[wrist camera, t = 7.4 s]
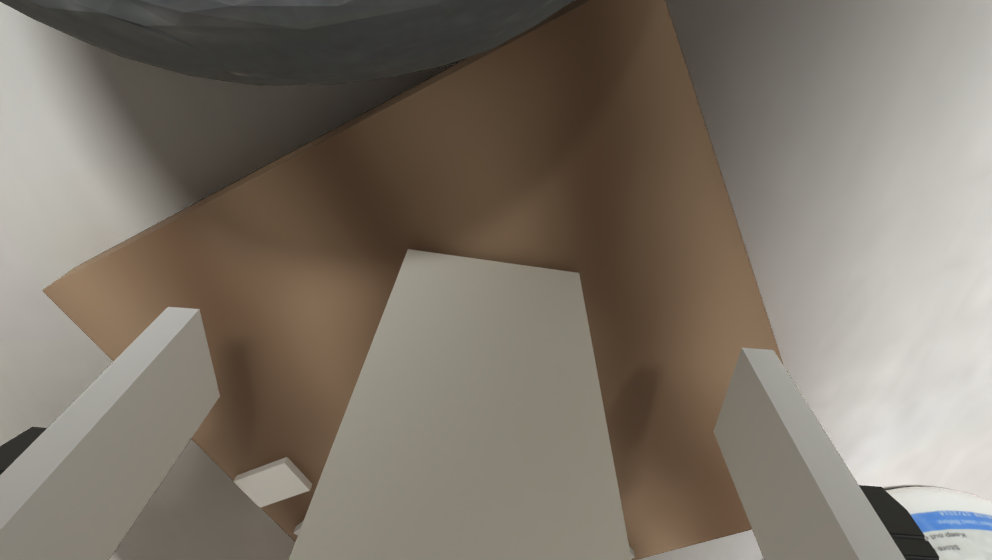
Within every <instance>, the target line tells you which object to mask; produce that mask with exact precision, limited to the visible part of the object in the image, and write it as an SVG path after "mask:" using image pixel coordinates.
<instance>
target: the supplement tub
mask: <svg viewBox="0 0 992 560" xmlns="http://www.w3.org/2000/svg"><path fill="white" fill-rule="evenodd" d="M885 491H886V492H887V493H889V494H890V495H891V496H892V497H893V498H894V499H895V500H896V501H898V502H899V503H900V504H901V505H902V506H903V507H904V508H905V509H907V511H908V512H909V514H910V515H911V516H912V518H913V519H914V521H915V522H916V524H917V525H918V527H919V528H920V530H921V531H922V532H923V534H924V535H925V536H924V538H925V540H926V541H929V543H930V544H931V545H932V547H933V548H934V550H935V551H936V553H937V554H938V556H939V560H992V502H991V501H989V500H987V499H984V498H982V497H979V496H976V495H973V494H970V493H966V492H962V491H957V490H951V489H946V488H938V487H904V488H896V489H891V490H885Z"/></svg>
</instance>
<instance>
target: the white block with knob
mask: <svg viewBox="0 0 992 560" xmlns="http://www.w3.org/2000/svg"><path fill="white" fill-rule="evenodd" d="M289 560H632V559H631V554H630V548H629V543H628V538H627V532H626V527H625V521H624V516H623V510H622V505H621V499H620V494H619V488H618V483H617V477H616V472H615V466H614V461H613V455H612V450H611V445H610V439H609V434H608V428H607V423H606V417H605V412H604V406H603V401H602V395H601V390H600V384H599V379H598V373H597V368H596V363H595V357H594V352H593V346H592V341H591V335H590V330H589V324H588V319H587V313H586V308H585V302H584V297H583V291H582V286H581V280H580V275H579V273H576V272H569V271H562V270H555V269H547V268H540V267H533V266H526V265H519V264H512V263H504V262H497V261H490V260H483V259H476V258H468V257H461V256H454V255H447V254H440V253H433V252H425V251H418V250H411V249H408V250H407V253H406V255H405V258H404V260H403V263H402V266H401V268H400V271H399V273H398V276H397V279H396V281H395V284H394V287H393V289H392V292H391V294H390V297H389V300H388V302H387V305H386V307H385V310H384V313H383V315H382V318H381V320H380V323H379V326H378V328H377V331H376V333H375V336H374V339H373V341H372V344H371V346H370V349H369V352H368V354H367V357H366V359H365V362H364V365H363V367H362V370H361V372H360V375H359V378H358V380H357V383H356V386H355V388H354V391H353V393H352V396H351V399H350V401H349V404H348V406H347V409H346V412H345V414H344V417H343V419H342V422H341V425H340V427H339V430H338V432H337V435H336V438H335V440H334V443H333V445H332V448H331V451H330V453H329V456H328V458H327V461H326V464H325V466H324V469H323V471H322V474H321V477H320V479H319V482H318V485H317V487H316V490H315V492H314V495H313V498H312V500H311V503H310V505H309V508H308V511H307V513H306V516H305V518H304V521H303V524H302V526H301V529H300V531H299V534H298V537H297V539H296V542H295V544H294V547H293V550H292V552H291V555H290V557H289Z"/></svg>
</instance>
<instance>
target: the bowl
mask: <svg viewBox="0 0 992 560" xmlns="http://www.w3.org/2000/svg"><path fill="white" fill-rule="evenodd" d="M572 1H574V0H0V2H2V3H4V4H6V5H8V6H10V7H12V8H14V9H15V10H17V11H19V12H21V13H23V14H25V15H27V16H29V17H31V18H33V19H35V20H37V21H39V22H41V23H44V24H46V25H48V26H50V27H53V28H55V29H57V30H59V31H62V32H64V33H66V34H68V35H71V36H73V37H75V38H77V39H80V40H82V41H84V42H87V43H89V44H92V45H94V46H97V47H99V48H102V49H104V50H107V51H109V52H112V53H114V54H117V55H119V56H122V57H125V58H129V59H132V60H136V61H139V62H143V63H147V64H150V65H154V66H157V67H161V68H164V69H168V70H172V71H175V72H179V73H182V74H186V75H190V76H196V77H202V78H209V79H216V80H223V81H230V82H237V83H244V84H252V85H260V86H262V85H325V84H337V83H345V82H354V81H363V80H371V79H380V78H389V77H394V76H399V75H403V74H408V73H413V72H418V71H422V70H427V69H432V68H437V67H441V66H444V65H447V64H450V63H453V62H456V61H459V60H462V59H465V58H468V57H471V56H474V55H477V54H480V53H483V52H486V51H489V50H491V49H493V48H495V47H497V46H499V45H500V44H502V43H504V42H506V41H508V40H510V39H512V38H513V37H515V36H517V35H519V34H521V33H523V32H524V31H526V30H528V29H530V28H532V27H534V26H536V25H537V24H539V23H540V22H542V21H543V20H545V19H546V18H548V17H550V16H551V15H553V14H554V13H556V12H557V11H559V10H560V9H562V8H563V7H565V6H566V5H568V4H569V3H571V2H572Z"/></svg>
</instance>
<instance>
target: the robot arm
mask: <svg viewBox="0 0 992 560" xmlns="http://www.w3.org/2000/svg"><path fill="white" fill-rule="evenodd" d="M219 397H220V394H219V390H218V386H217V381H216V377H215V373H214V369H213V364H212V360H211V356H210V352H209V347H208V343H207V339H206V335H205V331H204V326H203V322H202V318H201V314H200V309H192V308H178V307H167V308H166V309H165V310H164V311H163V312H162V313H161V314H160V315H159V316H158V317H157V318H156V319H155V320H154V321H153V322H152V323H151V324H150V325H149V326H148V327H147V328H146V329H145V330H144V331H143V332H142V333H141V334H140V335H139V336H138V337H137V338H136V339H135V340H134V341H133V342H132V343H131V344H130V345H129V346H128V347H127V348H126V349H125V350H124V351H123V352H122V353H121V354H120V355H119V356H118V357H117V358H116V359H115V360H114V361H113V362H112V363H111V364H110V366H109V367H108V368H107V369H106V370H105V371H104V372H103V373H102V374H101V375H100V376H99V377H98V378H97V379H96V380H95V381H94V382H93V383H92V384H91V385H90V386H89V387H88V388H87V389H86V390H85V391H84V392H83V393H82V394H81V395H80V396H79V397H78V398H77V399H76V400H75V401H74V402H73V403H72V404H71V405H70V406H69V407H68V408H67V409H66V410H65V411H64V412H63V413H62V414H61V415H60V416H59V417H58V418H57V419H56V420H55V421H54V422H53V423H52V424H51V425H50V426H49V427H48V428H39V427H32V428H30V429H28V430H27V431H25V432H23V433H22V434H20V435H18V436H17V437H15V438H13V439H12V440H10V441H8V442H7V443H5V444H3V445H2V446H1V447H0V560H109V559H110V558H111V556H112V555H113V553H114V552H115V550H116V549H117V547H118V546H119V544H120V543H121V541H122V540H123V538H124V537H125V535H126V534H127V532H128V531H129V530H130V528H131V527H132V525H133V524H134V522H135V521H136V519H137V518H138V516H139V515H140V513H141V512H142V510H143V509H144V507H145V506H146V504H147V503H148V502H149V500H150V499H151V497H152V496H153V494H154V493H155V491H156V490H157V488H158V487H159V485H160V484H161V482H162V481H163V479H164V478H165V476H166V475H167V474H168V472H169V471H170V469H171V468H172V466H173V465H174V463H175V462H176V460H177V459H178V457H179V456H180V454H181V453H182V451H183V450H184V448H185V447H186V446H187V444H188V443H189V441H190V440H191V438H192V437H193V435H194V434H195V432H196V431H197V429H198V428H199V426H200V425H201V423H202V422H203V420H204V419H205V418H206V416H207V415H208V413H209V412H210V410H211V409H212V407H213V406H214V404H215V403H216V401H217V400H218V398H219ZM713 432H714V434H715V437H716V439H717V442H718V444H719V447H720V449H721V452H722V454H723V457H724V460H725V462H726V465H727V467H728V470H729V472H730V475H731V477H732V480H733V482H734V485H735V487H736V490H737V492H738V495H739V497H740V500H741V502H742V505H743V507H744V510H745V512H746V515H747V517H748V520H749V522H750V525H751V527H752V530H753V532H754V535H755V537H756V540H757V542H758V545H759V547H760V550H761V553H762V555H763V558H764V560H939V556H938V554H937V553H936V551H935V550H934V548H933V547H932V545H931V544H930V543H929V541H926V540H925V538H924V536H925V535H924V534H923V532H922V531H921V530H920V528H919V527H918V525H917V524H916V522H915V521H914V519H913V518H912V516H911V515H910V514H909V512H908V511H907V509H905V508H904V507H903V506H902V505H901V504H900V503H899V502H898V501H896V500H895V499H894V498H893V497H892V496H891V495H890V494H889V493H887V492H886V491H885V490H884V489H883V488H882V487H875V486H861V485H858V483H857V482H856V480H855V478H854V477H853V475H852V474H851V472H850V471H849V469H848V467H847V466H846V464H845V463H844V461H843V459H842V458H841V456H840V455H839V453H838V451H837V450H836V448H835V447H834V445H833V444H832V442H831V440H830V439H829V437H828V436H827V434H826V432H825V431H824V429H823V428H822V426H821V424H820V423H819V421H818V420H817V418H816V417H815V415H814V413H813V412H812V410H811V409H810V407H809V405H808V404H807V402H806V401H805V399H804V397H803V396H802V394H801V393H800V391H799V390H798V388H797V386H796V385H795V383H794V382H793V380H792V378H791V377H790V375H789V374H788V372H787V371H786V369H785V367H784V366H783V364H782V363H781V361H780V359H779V358H778V356H777V355H776V353H775V351H774V350H767V349H753V348H741V351H740V354H739V357H738V360H737V363H736V366H735V369H734V372H733V375H732V378H731V381H730V384H729V387H728V390H727V393H726V396H725V399H724V402H723V405H722V408H721V411H720V414H719V417H718V420H717V423H716V426H715V428H714V431H713Z"/></svg>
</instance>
